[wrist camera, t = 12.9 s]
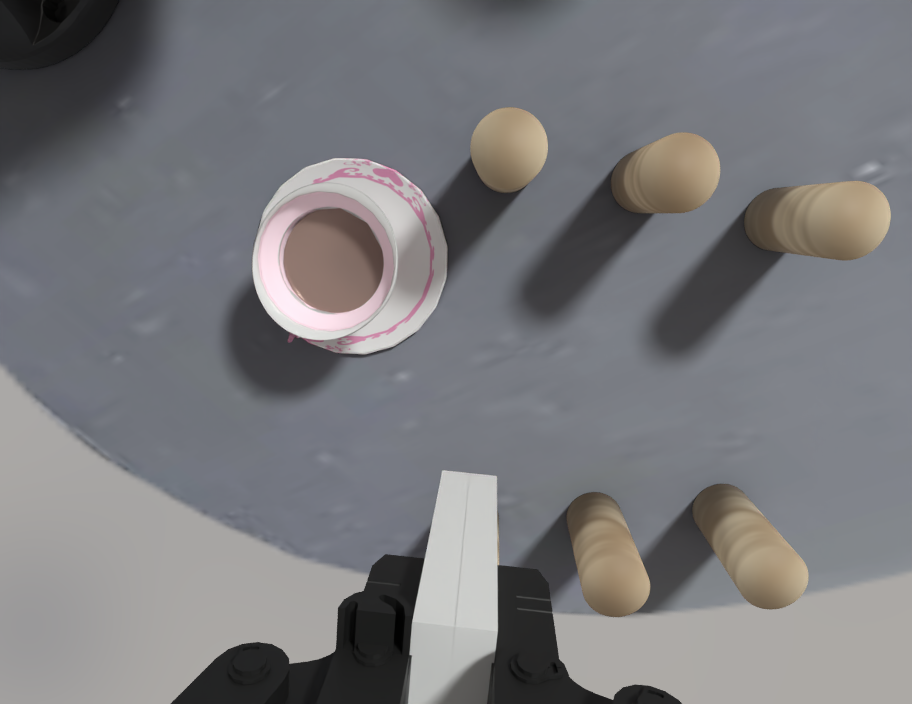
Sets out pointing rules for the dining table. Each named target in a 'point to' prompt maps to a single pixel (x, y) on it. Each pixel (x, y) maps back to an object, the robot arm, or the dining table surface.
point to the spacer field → (768, 227)
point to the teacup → (349, 256)
